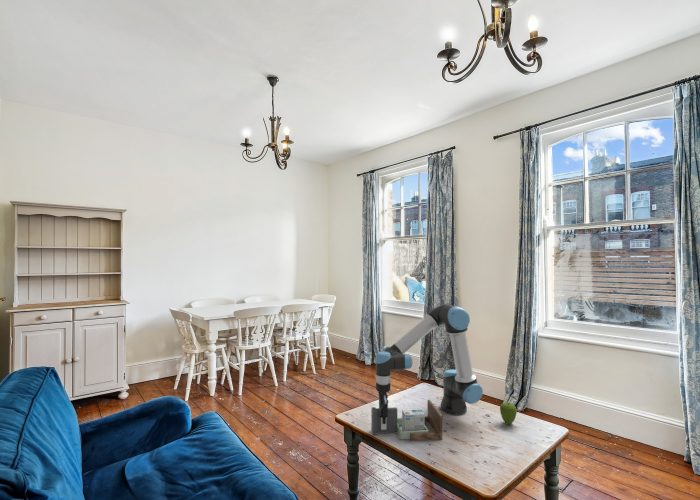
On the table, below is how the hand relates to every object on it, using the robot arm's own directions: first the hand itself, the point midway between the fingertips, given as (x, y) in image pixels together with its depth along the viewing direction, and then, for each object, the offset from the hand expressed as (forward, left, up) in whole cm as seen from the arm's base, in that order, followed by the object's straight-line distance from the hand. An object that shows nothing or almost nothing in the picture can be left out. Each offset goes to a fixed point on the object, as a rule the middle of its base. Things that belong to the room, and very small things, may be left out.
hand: (383, 427), depth 187 cm
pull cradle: (-8, 0, -2) cm, 8 cm away
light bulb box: (-16, +1, -3) cm, 16 cm away
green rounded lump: (-70, -3, -3) cm, 70 cm away
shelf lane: (-20, 0, -2) cm, 20 cm away
